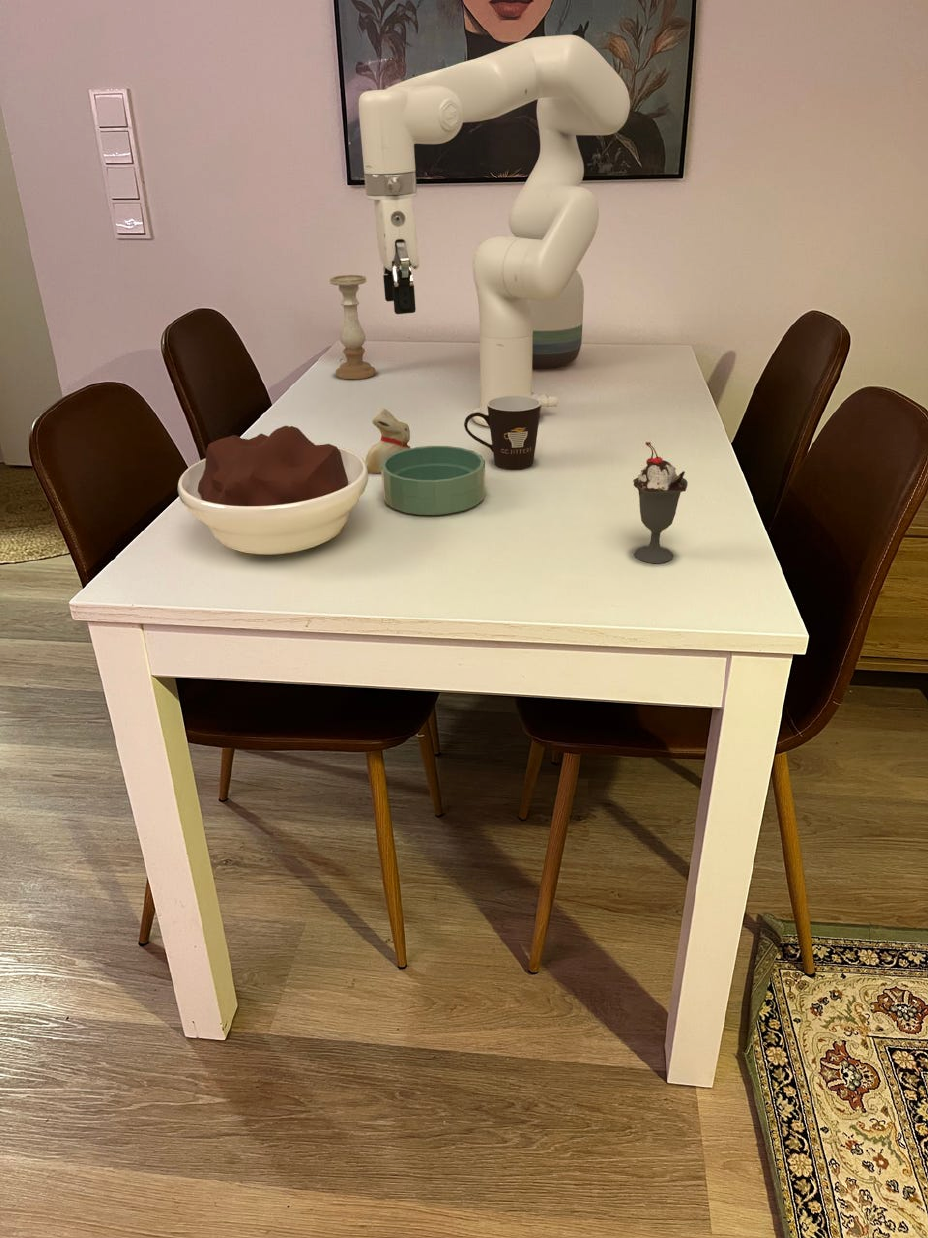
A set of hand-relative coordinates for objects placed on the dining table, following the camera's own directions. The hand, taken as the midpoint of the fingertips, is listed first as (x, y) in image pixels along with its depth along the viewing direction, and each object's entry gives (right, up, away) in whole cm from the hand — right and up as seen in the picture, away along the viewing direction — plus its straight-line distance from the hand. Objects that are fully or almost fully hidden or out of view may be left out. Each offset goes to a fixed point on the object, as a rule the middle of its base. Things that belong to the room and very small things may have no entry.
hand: (400, 306), depth 142 cm
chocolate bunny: (-2, -24, +6) cm, 25 cm away
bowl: (+6, -31, -6) cm, 32 cm away
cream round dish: (-15, -38, -17) cm, 44 cm away
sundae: (+35, -41, -24) cm, 59 cm away
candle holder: (-14, +5, +58) cm, 60 cm away
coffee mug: (+17, -23, +7) cm, 30 cm away
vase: (+28, +8, +62) cm, 69 cm away
